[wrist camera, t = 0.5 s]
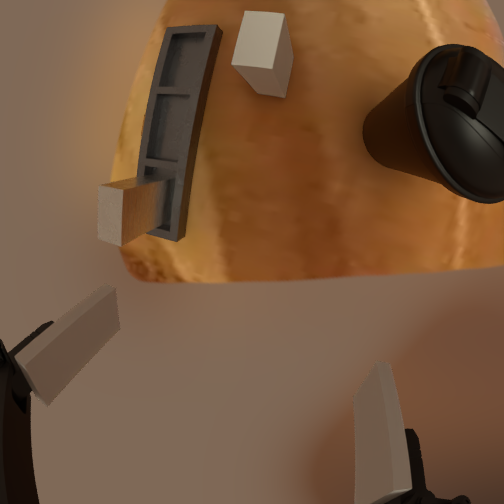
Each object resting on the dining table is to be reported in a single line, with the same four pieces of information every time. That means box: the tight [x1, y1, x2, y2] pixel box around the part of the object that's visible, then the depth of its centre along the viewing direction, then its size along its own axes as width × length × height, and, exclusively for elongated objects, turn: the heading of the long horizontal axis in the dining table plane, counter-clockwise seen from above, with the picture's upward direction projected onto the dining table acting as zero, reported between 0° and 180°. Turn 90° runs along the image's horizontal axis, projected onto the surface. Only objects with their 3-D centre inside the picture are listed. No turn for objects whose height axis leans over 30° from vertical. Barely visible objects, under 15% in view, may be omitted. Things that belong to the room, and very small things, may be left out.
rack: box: [98, 25, 223, 246], centre depth 27 cm, size 30×8×13 cm, turn 169°
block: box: [231, 11, 294, 98], centre depth 23 cm, size 6×4×12 cm, turn 169°
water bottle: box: [363, 44, 504, 204], centre depth 17 cm, size 10×10×23 cm
